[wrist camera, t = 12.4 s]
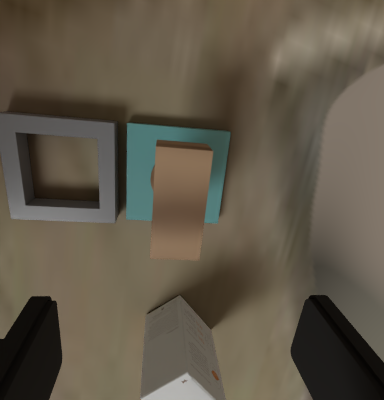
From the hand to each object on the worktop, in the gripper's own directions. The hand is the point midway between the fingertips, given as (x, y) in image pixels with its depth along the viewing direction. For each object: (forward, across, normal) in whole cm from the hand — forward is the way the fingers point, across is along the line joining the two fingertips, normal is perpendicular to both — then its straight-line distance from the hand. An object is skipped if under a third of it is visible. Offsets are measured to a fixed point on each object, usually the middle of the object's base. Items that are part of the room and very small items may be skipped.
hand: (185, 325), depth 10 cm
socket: (+20, +10, 0) cm, 22 cm away
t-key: (+19, -1, 0) cm, 19 cm away
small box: (+20, -3, +20) cm, 29 cm away
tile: (+20, -1, 0) cm, 20 cm away
